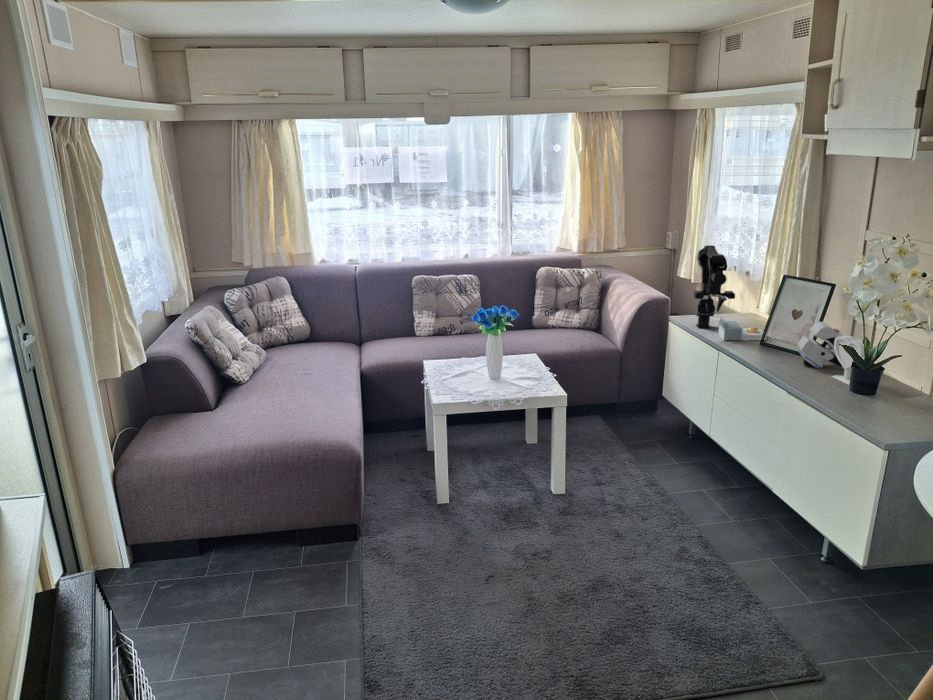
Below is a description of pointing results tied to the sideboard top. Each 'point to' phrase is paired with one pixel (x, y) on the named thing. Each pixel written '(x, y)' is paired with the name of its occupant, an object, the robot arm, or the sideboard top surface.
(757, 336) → the housing
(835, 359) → the robotic device
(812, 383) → the sideboard top surface
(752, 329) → the rounded peg
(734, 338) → the cabinet
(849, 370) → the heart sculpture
